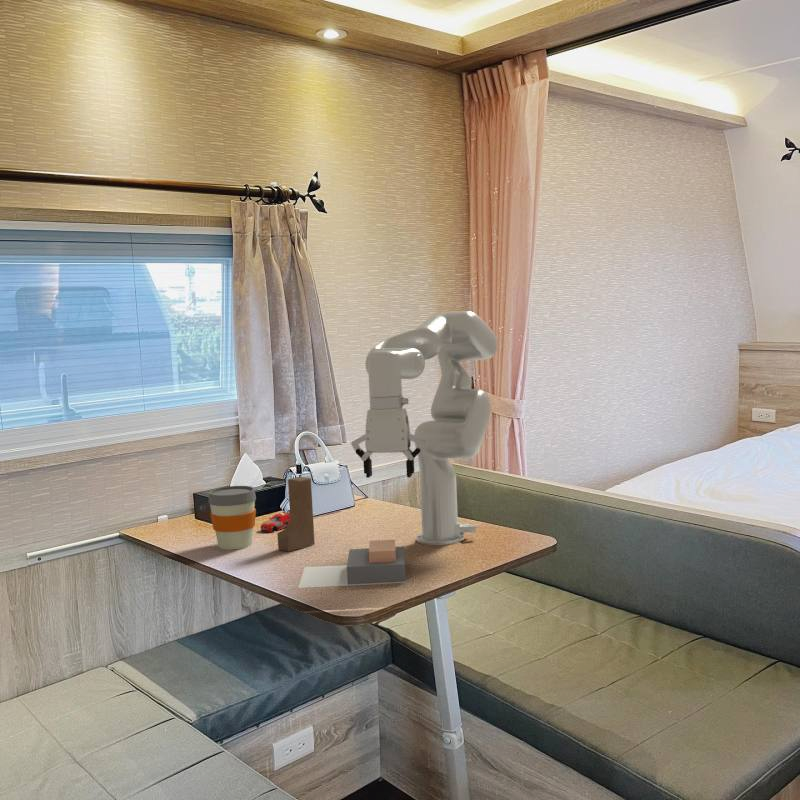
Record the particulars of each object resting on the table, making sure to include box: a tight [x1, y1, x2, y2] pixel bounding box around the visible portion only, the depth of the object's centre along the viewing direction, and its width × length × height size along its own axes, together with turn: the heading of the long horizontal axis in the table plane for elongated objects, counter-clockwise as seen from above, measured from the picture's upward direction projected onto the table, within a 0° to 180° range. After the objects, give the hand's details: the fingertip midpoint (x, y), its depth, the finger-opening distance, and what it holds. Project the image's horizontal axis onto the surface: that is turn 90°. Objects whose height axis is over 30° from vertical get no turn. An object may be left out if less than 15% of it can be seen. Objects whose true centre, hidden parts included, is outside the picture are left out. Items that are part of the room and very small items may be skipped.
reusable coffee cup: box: [208, 485, 257, 551], centre depth 220 cm, size 12×13×15 cm
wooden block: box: [277, 476, 315, 553], centre depth 215 cm, size 9×4×18 cm, turn 136°
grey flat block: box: [346, 546, 407, 586], centre depth 189 cm, size 13×14×4 cm
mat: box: [297, 564, 407, 589], centre depth 190 cm, size 24×15×1 cm, turn 91°
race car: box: [260, 512, 290, 533], centre depth 238 cm, size 13×5×4 cm, turn 139°
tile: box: [368, 539, 396, 563], centre depth 189 cm, size 6×9×2 cm, turn 1°
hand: (389, 476), depth 192 cm, fingers open, 9 cm apart
